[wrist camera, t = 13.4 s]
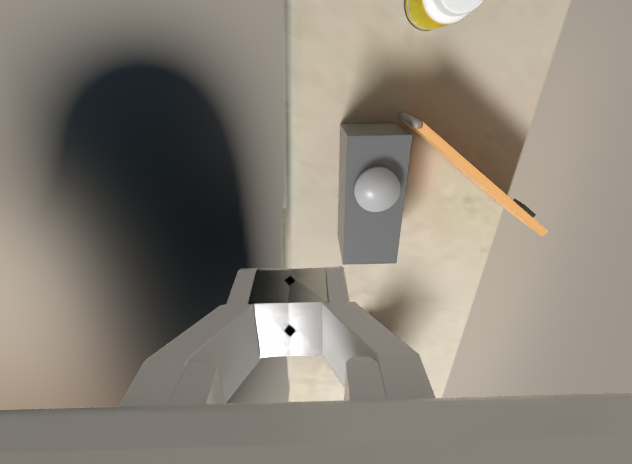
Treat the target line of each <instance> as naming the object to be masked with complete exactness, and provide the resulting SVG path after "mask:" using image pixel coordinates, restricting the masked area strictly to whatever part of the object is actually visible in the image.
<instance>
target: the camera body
mask: <svg viewBox="0 0 632 464" xmlns="http://www.w3.org/2000/svg"><path fill="white" fill-rule="evenodd" d="M411 143H412V134H410V133H409V132H407V131H406V130H404V129H403V128H401V127H400V126H398V125H397V124H395V123H357V124H340V161H339V206H338V239H339V245H340V250H341V256H342V262H343V264H386V263H396V262H397V254H398V246H399V238H400V230H401V222H402V214H403V206H404V198H405V190H406V182H407V174H408V167H409V159H410V151H411Z"/></svg>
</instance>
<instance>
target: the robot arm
mask: <svg viewBox="0 0 632 464" xmlns="http://www.w3.org/2000/svg"><path fill="white" fill-rule="evenodd" d="M276 356H323V358H324V360H325V361H326V363H327V364H328V365H329V367H330V368H331V370H332V371H333V372H334V374H335V375H336V377H337V378H338V379H339V381H340V382H341V384H342V385H343V386H344V388H345V393H344V401H309V402H278V403H277V402H275V403H274V402H273V403H238V404H226V402H227V401H228V399H229V398H230V397H231V396H232V394H233V393H234V392H235V391H236V389H237V388H238V387H239V386H240V384H241V383H242V382H243V380H244V379H245V378H246V377H247V375H248V374H249V373H250V372H251V370H252V369H253V368H254V367H255V365H256V364H257V363H258V362H259V360H260V357H276ZM0 464H632V393H607V394H569V395H534V396H533V395H532V396H497V397H462V398H435V395H434V393H433V390H432V387H431V385H430V382H429V380H428V377H427V374H426V372H425V369H424V367H423V364H422V361H421V359H420V356H419V354H418V353H417V352H415V351H414V350H413V349H412V348H410V347H409V346H408V345H407V344H406V343H404V342H403V341H402V340H401V339H399V338H398V337H397V336H396V335H395V334H393V333H392V332H391V331H390V330H388V329H387V328H386V327H385V326H383V325H382V324H381V323H380V322H379V321H377V320H376V319H375V318H374V317H372V316H371V315H370V314H369V313H368V312H366V311H365V310H364V309H363V308H361V307H360V306H359V305H358V304H357V303H355V302H349V296H348V291H347V285H346V279H345V274H344V268H343V267H342V266H341V267H325V268H304V269H240V270H239V271H238V273H237V276H236V278H235V281H234V284H233V287H232V290H231V293H230V296H229V299H228V302H227V304H226V305H221V306H219V307H218V308H216V309H215V310H214V311H212V312H211V313H210V314H208V315H207V316H205V317H204V318H203V319H201V320H200V321H199V322H197V323H196V324H195V325H193V326H192V327H190V328H189V329H188V330H186V331H185V332H184V333H182V334H181V335H179V336H178V337H177V338H176V339H174V340H172V341H171V342H170V343H168V344H167V345H166V346H164V347H163V348H161V349H160V350H159V351H157V352H156V353H155V354H154V355H152V356H150V357H149V358H148V359H146V360H145V361H144V363H143V365H142V367H141V368H140V370H139V372H138V374H137V375H136V377H135V379H134V381H133V382H132V384H131V386H130V388H129V390H128V391H127V393H126V395H125V397H124V399H123V400H122V402H121V404H120V405H119V407H92V408H55V409H20V410H19V409H18V410H0Z"/></svg>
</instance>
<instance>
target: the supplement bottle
mask: <svg viewBox="0 0 632 464" xmlns="http://www.w3.org/2000/svg"><path fill="white" fill-rule="evenodd" d="M482 1H483V0H403V12H404V16H405V18H406V20H407V22H408V23H409V24H410V26H412V27H413V28H415V29H417V30H420V31H429V30H433V29H436V28H439V27H442V26H446V25H449V24H452V23H455V22H457V21H459V20H461V19H462V18H464V17H465V16H466V15H468V14H469V12H470V11H472V10H474V9H475V8H476V7H478V6H479V5H480V4H481V3H482Z"/></svg>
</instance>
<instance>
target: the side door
mask: <svg viewBox="0 0 632 464" xmlns="http://www.w3.org/2000/svg"><path fill="white" fill-rule="evenodd" d="M398 117H399V119H400V120H401V121H403V122H404V123H405V124H406V125H407V126H408V127H410V128H411V129H412V130H413V131H414V132H416V133H417V134H418V135H419V136H420V137H421V138H423V139H424V140H425V141H426V142H427V143H428V144H430V145H431V146H432V147H433V148H434V149H436V150H437V151H438V152H439V153H440V154H441V155H443V156H444V157H445V158H446V159H447V160H448V161H450V162H451V163H452V164H453V165H454V166H456V167H457V168H458V169H459V170H460V171H461V172H463V173H464V174H465V175H466V176H467V177H468V178H470V179H471V180H472V181H473V182H474V183H475V184H477V185H478V186H479V187H480V188H481V189H483V190H484V191H485V192H486V193H487V194H488V195H490V196H491V197H492V198H493V199H494V200H495V201H497V202H498V203H499V204H500V205H501V206H503V207H504V208H505V209H506V210H507V211H508V212H510V213H511V214H512V215H513V216H515V217H516V218H517V219H519V220H520V221H522V222H523V223H524V224H526V225H527V226H528V227H530V228H531V229H533V230H534V231H535V232H537V233H538V234H539V235H541V236H544V235H545V234H546V233H547V232H548V231H547V230H546V229H545V228H544V227H543V226H542V225H541V224H539V223H538V222H537V221H536V220H535V219H533V217H534V216H535V215H536V214H534V213H533V212H532V211H531V210H530V209H529V208H528V207H526V206H525V205H524V204H522V203H521V202H519V201H518V200H516V199H514V200H512V199H511V198H510V197H508V196H507V195H506V194H505V193H504V192H503V191H502V190H500V189H499V188H498V187H497V186H496V185H495V184H494V183H492V182H491V181H490V180H489V179H488V178H487V177H486V176H484V175H483V174H482V173H481V172H480V171H479V170H478V169H476V168H475V167H474V166H473V165H472V164H471V163H470V162H468V161H467V160H466V159H465V158H464V157H463V156H461V155H460V154H459V153H458V152H457V151H456V150H455V149H453V148H452V147H451V146H450V145H449V144H448V143H447V142H445V141H444V140H443V139H442V138H441V137H440V136H439V135H437V134H436V133H435V132H434V131H433V130H432V129H431V128H429V127H428V126H427V125H426V124H425V123H424V122H423V121H421V120H419V119H417V118H415V117H413V116H411V115H409V114H407V113H405V112H400V113H399V115H398Z"/></svg>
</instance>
